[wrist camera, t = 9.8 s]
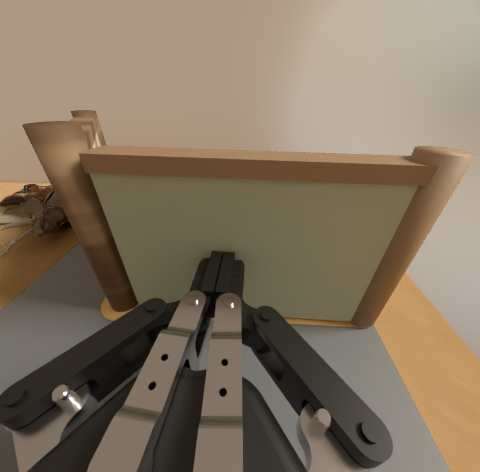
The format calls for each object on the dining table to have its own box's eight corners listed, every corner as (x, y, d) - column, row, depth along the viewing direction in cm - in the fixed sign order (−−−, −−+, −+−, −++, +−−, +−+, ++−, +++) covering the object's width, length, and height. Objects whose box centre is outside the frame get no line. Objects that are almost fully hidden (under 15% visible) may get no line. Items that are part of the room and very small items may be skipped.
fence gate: (137, 311, 18) (71, 143, 10) (149, 289, 20) (101, 135, 12) (380, 328, 17) (490, 157, 10) (367, 303, 19) (450, 146, 12)
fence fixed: (142, 306, 18) (77, 125, 11) (111, 317, 18) (15, 127, 10) (126, 210, 33) (94, 105, 25) (109, 213, 32) (70, 105, 24)
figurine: (64, 206, 22) (-127, 233, 20) (92, 253, 25) (-69, 279, 23) (121, 158, 38) (19, 170, 36) (133, 190, 41) (40, 203, 40)
